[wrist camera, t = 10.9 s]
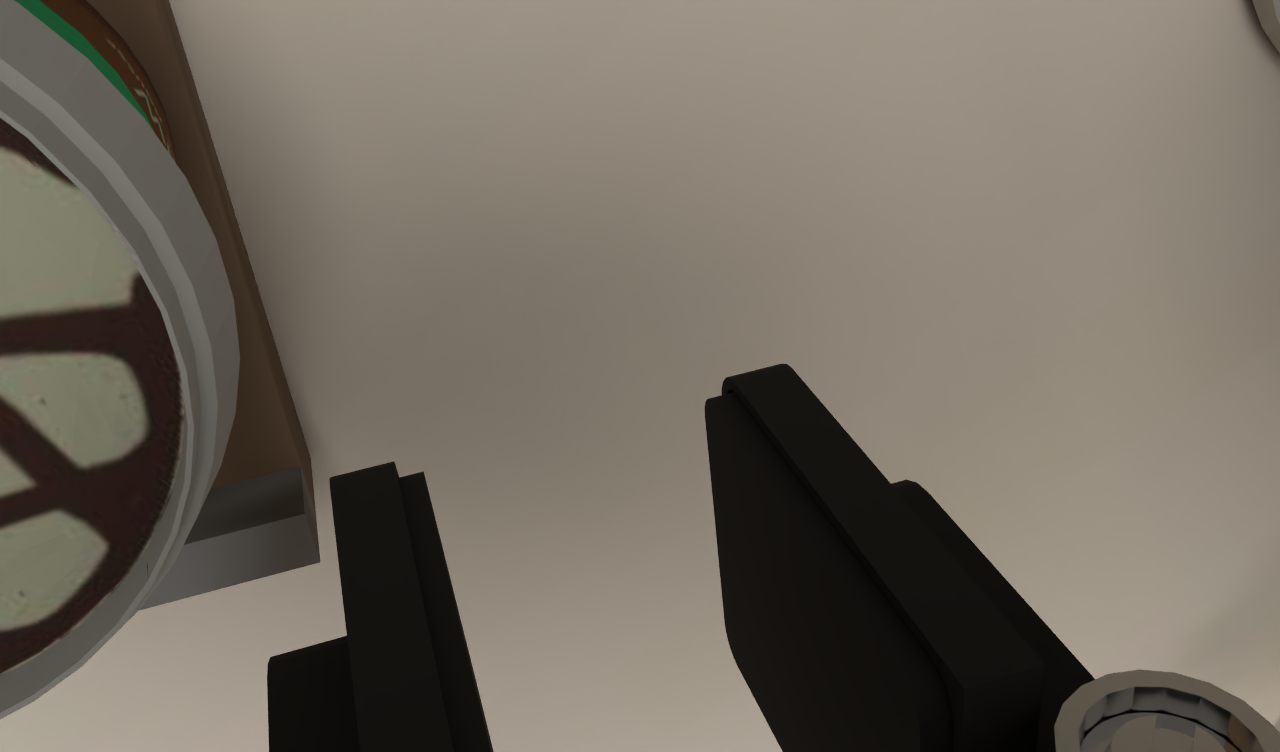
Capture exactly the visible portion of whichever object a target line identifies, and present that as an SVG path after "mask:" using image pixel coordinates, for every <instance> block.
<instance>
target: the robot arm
mask: <svg viewBox="0 0 1280 752" xmlns="http://www.w3.org/2000/svg"><path fill="white" fill-rule="evenodd" d="M1252 1H1253V4H1254V7H1255V9H1256V12H1257V15H1258V18H1259V20H1260V23H1261V26H1262V28H1263V30H1264V31H1265V33H1266V34H1267V36H1268V37H1269V39H1270V40H1271V42H1272V43H1273V45H1274V46H1275V48H1276V49H1277V51H1278V52H1279V54H1280V0H1252ZM705 420H706V431H707V441H708V452H709V462H710V472H711V483H712V493H713V504H714V514H715V525H716V535H717V546H718V556H719V567H720V577H721V588H722V598H723V609H724V619H725V627H726V633H727V637H728V641H729V645H730V648H731V651H732V654H733V656H734V659H735V661H736V663H737V666H738V668H739V669H740V671H741V673H742V675H743V677H744V679H745V681H746V683H747V685H748V687H749V688H750V690H751V692H752V694H753V696H754V698H755V700H756V702H757V704H758V706H759V707H760V709H761V711H762V713H763V715H764V717H765V719H766V721H767V723H768V725H769V726H770V728H771V730H772V732H773V734H774V736H775V738H776V740H777V742H778V744H779V745H780V747H781V749H782V751H783V752H1280V732H1279V731H1277V729H1275V727H1274V726H1273V725H1272V724H1271V723H1270V722H1269V721H1267V720H1266V719H1265V718H1264V717H1263V716H1261V715H1260V714H1259V713H1258V712H1257V711H1255V710H1254V709H1253V708H1252V707H1251V706H1249V705H1248V704H1247V703H1246V702H1245V701H1243V700H1242V699H1240V698H1238V697H1236V696H1234V695H1232V694H1230V693H1228V692H1226V691H1224V690H1222V689H1220V688H1219V687H1217V686H1215V685H1213V684H1211V683H1208V682H1205V681H1201V680H1198V679H1194V678H1191V677H1188V676H1184V675H1181V674H1177V673H1172V672H1161V671H1149V670H1134V671H1127V672H1119V673H1112V674H1107V675H1105V676H1102V677H1100V678H1098V679H1094V678H1093V676H1092V675H1091V674H1090V673H1089V672H1088V671H1087V670H1086V669H1085V667H1084V666H1083V665H1082V664H1081V663H1080V662H1079V661H1078V660H1077V659H1076V657H1075V656H1074V655H1073V654H1072V653H1071V652H1070V651H1069V650H1068V648H1067V647H1066V646H1065V645H1064V644H1063V643H1062V642H1061V641H1060V640H1059V638H1058V637H1057V636H1056V635H1055V634H1054V633H1053V632H1052V631H1051V629H1050V628H1049V627H1048V626H1047V625H1046V624H1045V623H1044V622H1043V621H1042V619H1041V618H1040V617H1039V616H1038V615H1037V614H1036V613H1035V612H1034V610H1033V609H1032V608H1031V607H1030V606H1029V605H1028V604H1027V603H1026V601H1025V600H1024V599H1023V598H1022V597H1021V596H1020V595H1019V594H1018V593H1017V591H1016V590H1015V589H1014V588H1013V587H1012V586H1011V585H1010V584H1009V582H1008V581H1007V580H1006V579H1005V578H1004V577H1003V576H1002V575H1001V574H1000V572H999V571H998V570H997V569H996V568H995V567H994V566H993V565H992V563H991V562H990V561H989V560H988V559H987V558H986V557H985V556H984V554H983V553H982V552H981V551H980V550H979V549H978V548H977V547H976V546H975V544H974V543H973V542H972V541H971V540H970V539H969V538H968V537H967V535H966V534H965V533H964V532H963V531H962V530H961V529H960V528H959V527H958V525H957V524H956V523H955V522H954V521H953V520H952V519H951V518H950V516H949V515H948V514H947V513H946V512H945V511H944V510H943V509H942V508H941V506H940V505H939V504H938V503H937V502H936V501H935V500H934V499H933V497H932V496H931V495H930V494H929V493H928V492H927V491H926V490H925V489H924V488H922V487H921V486H920V485H919V484H918V483H917V482H913V481H909V480H904V481H900V482H897V483H893V484H890V482H889V481H888V480H887V479H886V478H885V476H884V475H883V474H882V473H881V472H880V471H879V469H878V468H877V467H876V466H875V465H874V464H873V462H872V461H871V460H870V459H869V458H868V457H867V455H866V454H865V453H864V452H863V451H862V450H861V448H860V447H859V446H858V445H857V444H856V443H855V441H854V440H853V439H852V438H851V437H850V436H849V434H848V433H847V432H846V431H845V430H844V429H843V427H842V426H841V425H840V424H839V423H838V422H837V420H836V419H835V418H834V417H833V416H832V414H831V413H830V412H829V411H828V410H827V409H826V407H825V406H824V405H823V404H822V403H821V402H820V400H819V399H818V398H817V397H816V396H815V395H814V393H813V392H812V391H811V390H810V389H809V388H808V386H807V385H806V384H805V383H804V382H803V381H802V379H801V378H800V377H799V376H798V375H797V374H796V372H795V371H794V370H793V369H792V368H791V367H790V366H789V365H787V364H779V365H775V366H771V367H767V368H763V369H759V370H755V371H751V372H747V373H743V374H739V375H735V376H731V377H727V378H725V380H724V381H723V385H722V396H718V397H714V398H710V399H707V401H706V403H705ZM330 491H331V500H332V508H333V517H334V526H335V535H336V543H337V552H338V561H339V569H340V578H341V587H342V595H343V604H344V613H345V622H346V630H347V636H345V637H341V638H337V639H334V640H330V641H327V642H323V643H319V644H316V645H312V646H309V647H305V648H302V649H298V650H294V651H291V652H287V653H284V654H280V655H276V656H273V657H271V658H270V660H269V663H268V674H267V686H268V724H269V752H493V748H492V744H491V740H490V736H489V732H488V728H487V724H486V720H485V716H484V711H483V707H482V703H481V699H480V695H479V691H478V687H477V683H476V679H475V675H474V671H473V667H472V663H471V659H470V655H469V651H468V647H467V643H466V639H465V635H464V631H463V627H462V624H461V620H460V616H459V612H458V608H457V604H456V600H455V596H454V592H453V588H452V584H451V580H450V576H449V572H448V568H447V564H446V560H445V556H444V552H443V548H442V544H441V540H440V536H439V532H438V528H437V524H436V520H435V516H434V512H433V508H432V504H431V500H430V496H429V492H428V488H427V484H426V480H425V476H424V472H420V473H416V474H412V475H408V476H404V477H400V478H399V476H398V472H397V468H396V465H395V462H390V463H386V464H382V465H378V466H374V467H370V468H366V469H362V470H358V471H354V472H350V473H346V474H342V475H338V476H334V477H330Z"/></svg>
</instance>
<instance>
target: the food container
mask: <svg viewBox="0 0 1280 752" xmlns="http://www.w3.org/2000/svg"><path fill="white" fill-rule="evenodd" d="M239 366H240V352H239V342H238V333H237V324H236V314H235V305H234V298H233V295H232V291H231V288H230V284H229V281H228V278H227V274H226V271H225V267H224V264H223V261H222V257H221V254H220V250H219V247H218V244H217V240H216V238H215V236H214V234H213V232H212V229H211V227H210V225H209V223H208V221H207V219H206V217H205V215H204V213H203V211H202V209H201V207H200V205H199V203H198V201H197V199H196V197H195V195H194V193H193V191H192V189H191V187H190V185H189V183H188V180H187V178H186V177H185V175H184V174H183V173H182V171H181V170H180V168H179V167H178V166H177V164H176V156H175V146H174V141H173V137H172V134H171V130H170V127H169V124H168V120H167V117H166V113H165V110H164V107H163V105H162V103H161V101H160V99H159V97H158V95H157V93H156V90H155V88H154V86H153V84H152V82H151V80H150V78H149V76H148V74H147V72H146V71H145V69H144V68H143V66H142V65H141V63H140V62H139V61H138V59H137V58H136V56H135V55H134V53H133V52H132V50H131V49H130V48H129V46H128V45H127V43H126V42H125V40H124V39H123V38H122V37H121V36H120V35H119V34H118V32H117V31H116V30H115V29H114V28H113V27H112V26H111V25H110V24H109V23H108V22H107V21H106V20H105V19H104V17H103V16H102V15H101V14H100V13H99V12H98V11H97V10H96V9H95V8H94V7H93V6H92V5H91V4H89V3H88V2H87V1H86V0H0V719H1V718H3V717H5V716H7V715H9V714H11V713H13V712H15V711H16V710H18V709H20V708H22V707H24V706H26V705H28V704H30V703H31V702H33V701H35V700H36V699H37V698H39V697H40V696H42V695H43V694H44V693H46V692H47V691H49V690H50V689H51V688H53V687H54V686H56V685H57V684H58V683H60V682H61V681H62V680H64V679H65V678H67V677H68V676H69V675H71V674H72V673H74V672H75V671H76V670H78V669H79V668H80V667H82V666H83V665H84V664H85V663H86V662H87V661H88V660H89V659H90V658H91V657H92V656H93V655H94V654H95V653H96V652H97V651H98V650H99V649H100V648H101V647H102V646H103V645H104V644H105V643H106V642H107V641H108V640H109V639H110V638H111V637H112V636H113V635H114V634H115V633H116V632H117V631H118V630H119V629H120V628H121V627H122V626H123V625H124V624H125V623H126V622H127V621H128V620H129V619H130V618H131V617H132V616H133V615H134V614H135V613H136V612H137V611H138V610H139V609H140V608H141V607H142V606H143V605H144V603H145V602H146V601H147V599H148V598H149V597H150V595H151V594H152V593H153V591H154V590H155V589H156V587H157V586H158V585H159V583H160V582H161V580H162V579H163V578H164V576H165V575H166V574H167V572H168V571H169V570H170V568H171V567H172V566H173V564H174V563H175V561H176V559H177V557H178V555H179V553H180V551H181V549H182V547H183V545H184V543H185V541H186V539H187V537H188V535H189V533H190V531H191V529H192V527H193V525H194V523H195V521H196V519H197V517H198V515H199V512H200V510H201V508H202V506H203V504H204V502H205V499H206V497H207V495H208V493H209V491H210V489H211V486H212V484H213V482H214V480H215V478H216V476H217V474H218V471H219V469H220V467H221V464H222V461H223V457H224V453H225V450H226V446H227V443H228V439H229V435H230V432H231V428H232V425H233V421H234V417H235V414H236V402H237V390H238V378H239Z"/></svg>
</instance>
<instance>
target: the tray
mask: <svg viewBox="0 0 1280 752" xmlns="http://www.w3.org/2000/svg"><path fill="white" fill-rule="evenodd" d="M86 1H87V2H88V3H89V4H91V5H92V6H93V7H94V8H95V9H96V10H97V11H98V12H99V13H100V14H101V15H102V16H103V17H104V19H105V20H106V21H107V22H108V23H109V24H110V25H111V26H112V27H113V28H114V29H115V30H116V31H117V32H118V34H119V35H120V36H121V37H122V38H123V39H124V40H125V42H126V43H127V45H128V46H129V48H130V49H131V50H132V52H133V53H134V55H135V56H136V58H137V59H138V61H139V62H140V63H141V65H142V66H143V68H144V69H145V71H146V72H147V74H148V76H149V78H150V80H151V82H152V84H153V86H154V88H155V90H156V93H157V95H158V97H159V99H160V101H161V103H162V105H163V107H164V110H165V113H166V117H167V120H168V124H169V127H170V130H171V134H172V137H173V141H174V146H175V156H176V164H177V166H178V167H179V168H180V170H181V171H182V173H183V174H184V175H185V177H186V178H187V180H188V183H189V185H190V187H191V189H192V191H193V193H194V195H195V197H196V199H197V201H198V203H199V205H200V207H201V209H202V211H203V213H204V215H205V217H206V219H207V221H208V223H209V225H210V227H211V229H212V232H213V234H214V236H215V238H216V240H217V244H218V247H219V250H220V254H221V257H222V261H223V264H224V267H225V271H226V274H227V278H228V281H229V284H230V288H231V291H232V295H233V298H234V305H235V314H236V324H237V333H238V342H239V352H240V366H239V378H238V390H237V402H236V414H235V417H234V421H233V425H232V428H231V432H230V435H229V439H228V443H227V446H226V450H225V453H224V457H223V461H222V464H221V467H220V469H219V471H218V474H217V476H216V478H215V480H214V482H213V484H212V486H211V489H210V491H209V493H208V495H207V497H206V499H205V502H204V504H203V506H202V508H201V510H200V512H199V515H198V517H197V519H196V521H195V523H194V525H193V527H192V529H191V531H190V533H189V535H188V537H187V539H186V541H185V543H184V545H183V547H182V549H181V551H180V553H179V555H178V557H177V559H176V561H175V563H174V564H173V566H172V567H171V568H170V570H169V571H168V572H167V574H166V575H165V576H164V578H163V579H162V580H161V582H160V583H159V585H158V586H157V587H156V589H155V590H154V591H153V593H152V594H151V595H150V597H149V598H148V599H147V601H146V602H145V603H144V605H143V606H142V607H141V608H140V609H139V610H142V609H146V608H150V607H153V606H157V605H161V604H165V603H168V602H172V601H176V600H180V599H183V598H187V597H191V596H195V595H198V594H202V593H206V592H210V591H213V590H217V589H221V588H225V587H229V586H232V585H236V584H240V583H244V582H247V581H251V580H255V579H259V578H262V577H266V576H270V575H274V574H277V573H281V572H285V571H289V570H292V569H296V568H300V567H304V566H308V565H311V564H315V563H319V562H320V554H319V543H318V533H317V522H316V511H315V500H314V490H313V479H312V468H311V459H310V455H309V452H308V449H307V446H306V443H305V439H304V436H303V433H302V430H301V426H300V423H299V420H298V417H297V413H296V410H295V407H294V404H293V400H292V397H291V394H290V391H289V388H288V384H287V381H286V378H285V375H284V371H283V368H282V365H281V362H280V358H279V355H278V352H277V349H276V345H275V342H274V339H273V336H272V333H271V329H270V326H269V323H268V320H267V316H266V313H265V310H264V307H263V303H262V300H261V297H260V294H259V291H258V287H257V284H256V281H255V278H254V274H253V271H252V268H251V265H250V261H249V258H248V255H247V252H246V248H245V245H244V242H243V239H242V236H241V232H240V229H239V226H238V223H237V219H236V216H235V213H234V210H233V206H232V203H231V200H230V197H229V193H228V190H227V187H226V184H225V181H224V177H223V174H222V171H221V168H220V164H219V161H218V158H217V155H216V151H215V148H214V145H213V142H212V138H211V135H210V132H209V129H208V126H207V122H206V119H205V116H204V113H203V109H202V106H201V103H200V100H199V96H198V93H197V90H196V87H195V84H194V80H193V77H192V74H191V71H190V67H189V64H188V61H187V58H186V54H185V51H184V48H183V45H182V41H181V38H180V35H179V32H178V29H177V25H176V22H175V19H174V16H173V12H172V9H171V6H170V3H169V0H86Z"/></svg>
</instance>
